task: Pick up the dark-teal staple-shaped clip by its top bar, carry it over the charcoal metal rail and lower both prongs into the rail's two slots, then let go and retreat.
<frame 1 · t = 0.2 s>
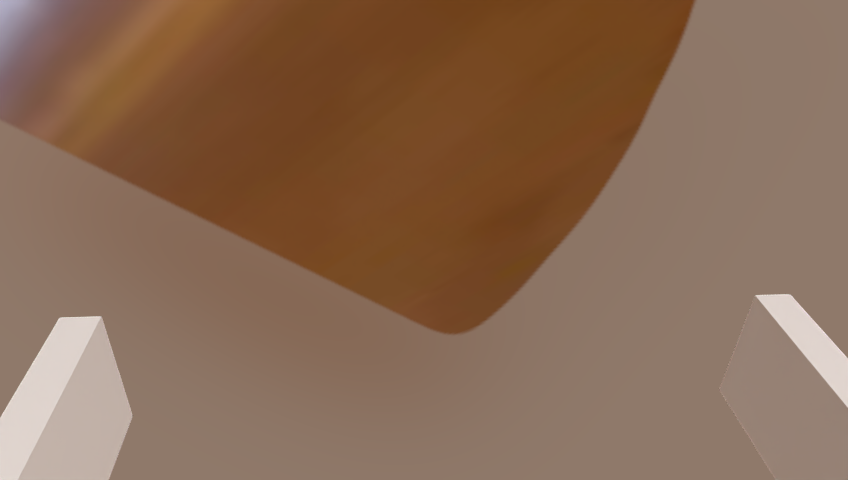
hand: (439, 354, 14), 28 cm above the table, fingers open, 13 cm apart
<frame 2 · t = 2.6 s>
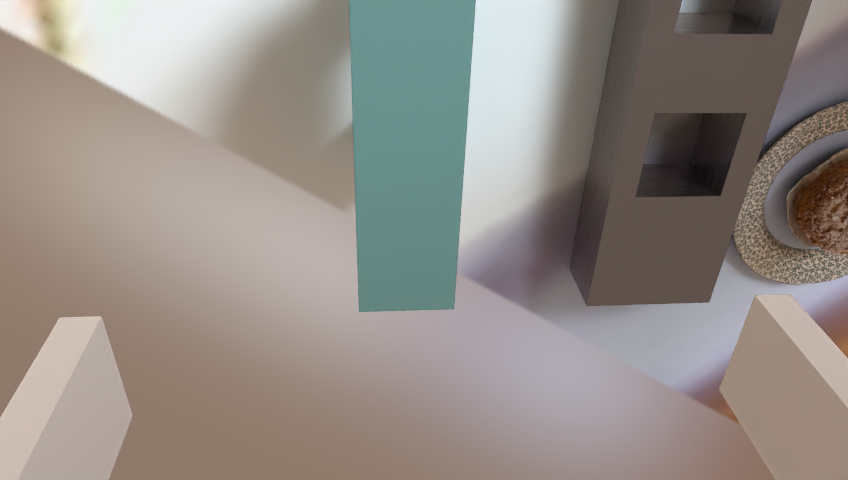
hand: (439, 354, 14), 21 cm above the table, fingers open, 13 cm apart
pastry: (824, 187, 38), on the table
clip: (393, 49, 31), on the table
rail: (679, 50, 32), on the table
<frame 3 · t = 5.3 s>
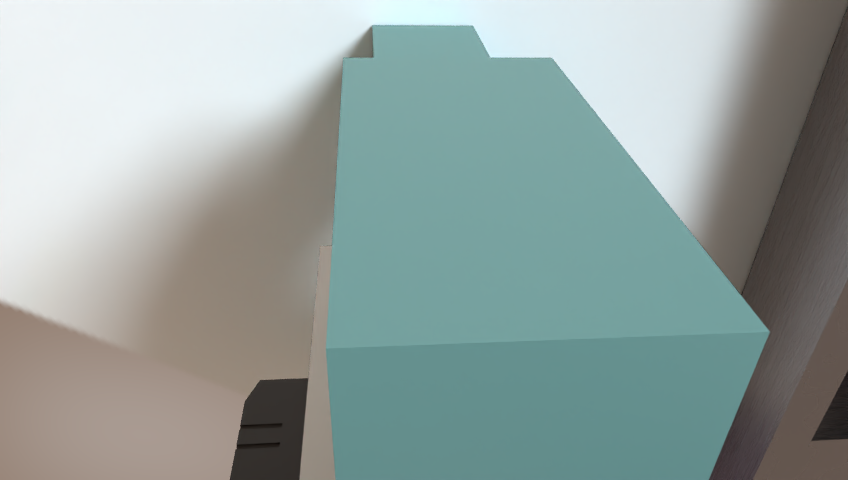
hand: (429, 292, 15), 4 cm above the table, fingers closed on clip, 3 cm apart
clip: (418, 213, 18), on the table, touching gripper
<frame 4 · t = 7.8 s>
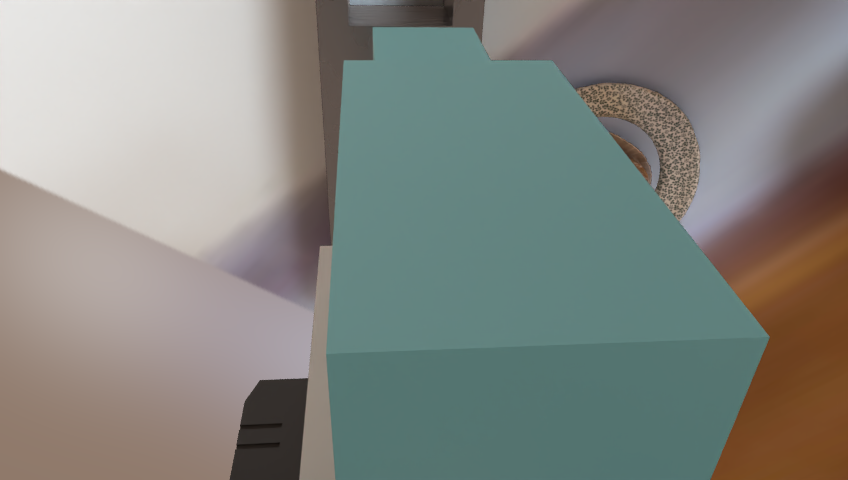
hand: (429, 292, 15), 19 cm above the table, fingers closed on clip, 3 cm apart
pastry: (586, 177, 37), on the table
clip: (418, 215, 18), point 16 cm above the table, touching gripper
rail: (396, 44, 31), on the table
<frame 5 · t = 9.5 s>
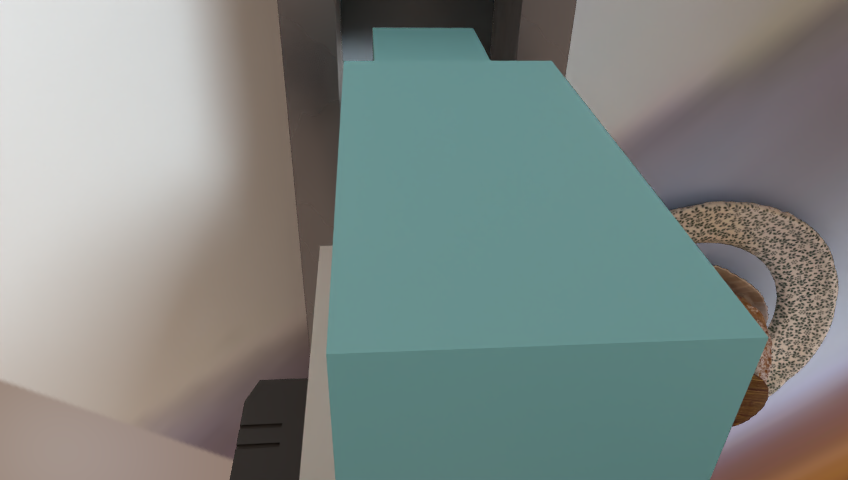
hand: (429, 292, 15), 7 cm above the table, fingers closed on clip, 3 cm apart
pastry: (672, 313, 27), on the table
clip: (418, 215, 18), point 4 cm above the table, touching gripper
rail: (414, 155, 21), on the table
when the fingers open (6 cm above the table, at t = 10.7 s): clip drops 2 cm, on the table.
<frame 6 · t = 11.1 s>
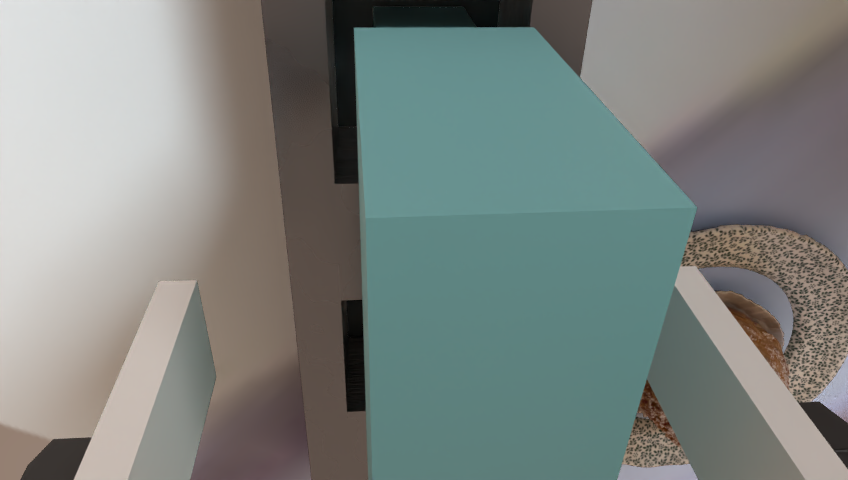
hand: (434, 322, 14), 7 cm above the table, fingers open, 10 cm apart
pastry: (682, 339, 26), on the table
clip: (414, 181, 20), on the table
rail: (413, 180, 20), on the table
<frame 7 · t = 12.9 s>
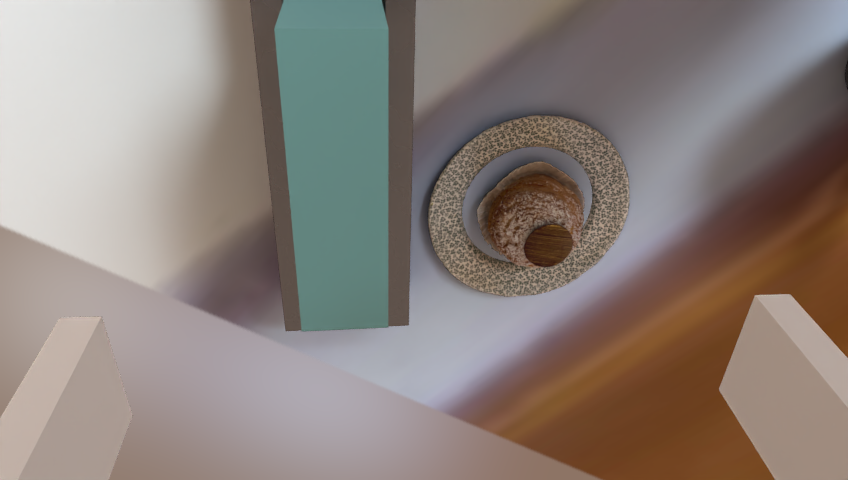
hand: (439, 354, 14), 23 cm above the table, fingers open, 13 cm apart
pastry: (524, 202, 39), on the table
clip: (339, 87, 33), on the table
rail: (338, 87, 33), on the table
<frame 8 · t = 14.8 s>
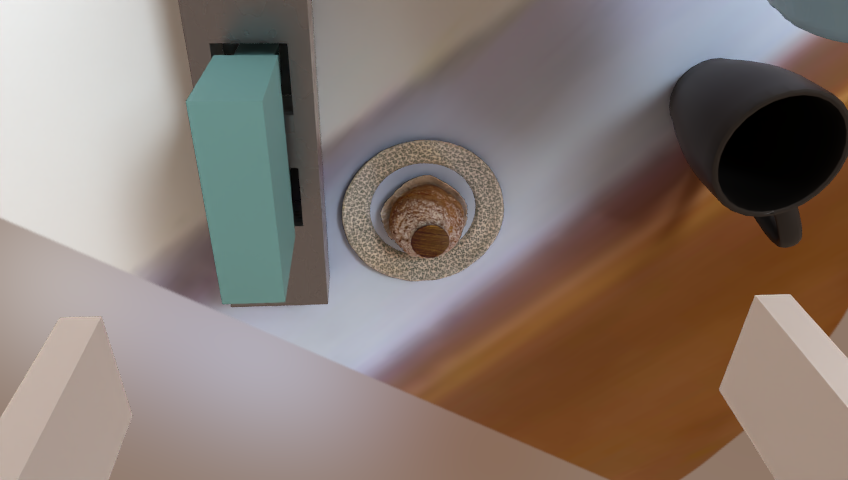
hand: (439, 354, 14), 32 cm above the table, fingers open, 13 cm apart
pastry: (422, 206, 49), on the table
clip: (267, 121, 44), on the table
rail: (266, 120, 44), on the table
mug: (711, 119, 47), on the table
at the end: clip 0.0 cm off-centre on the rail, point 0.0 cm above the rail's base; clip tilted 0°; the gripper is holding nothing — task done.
